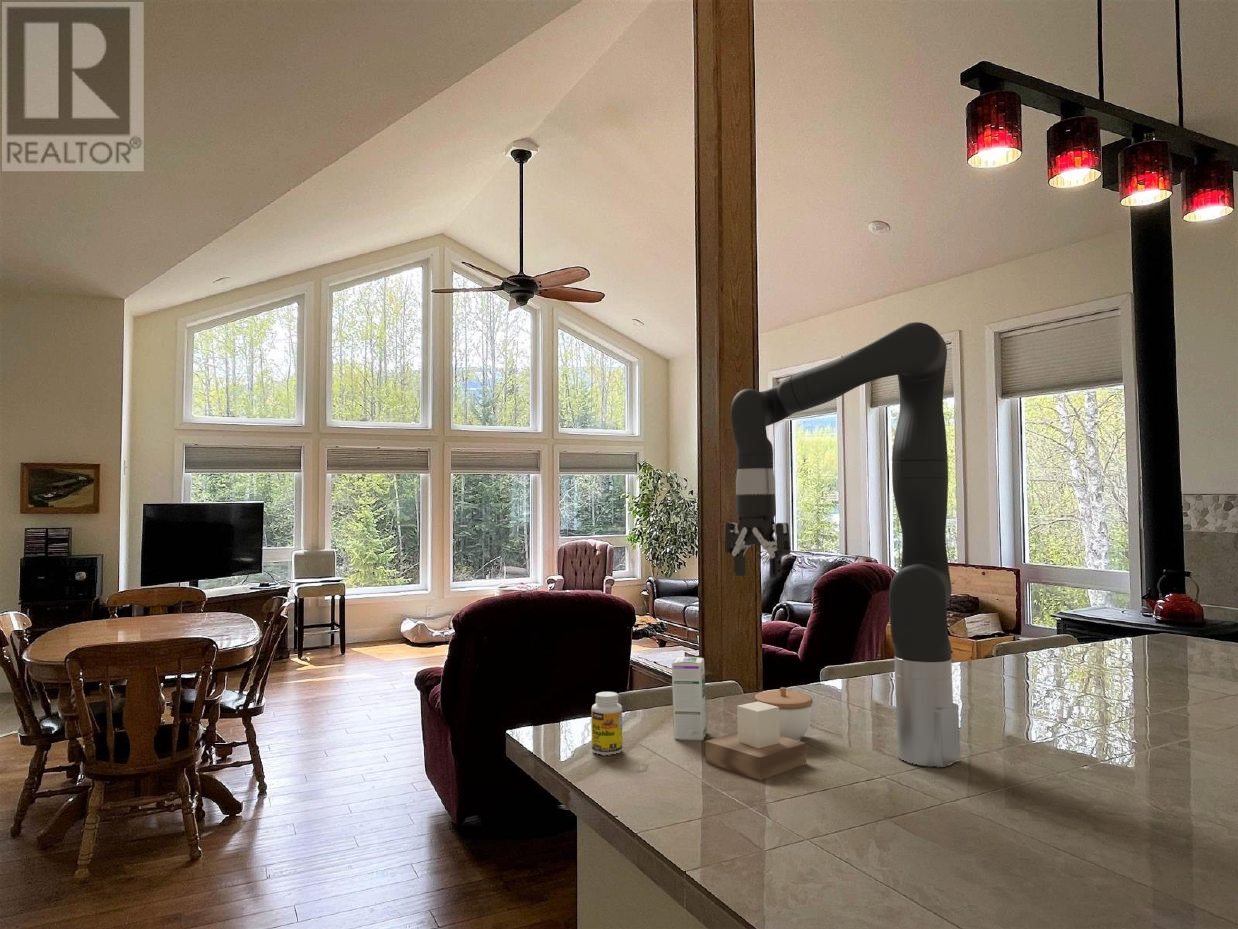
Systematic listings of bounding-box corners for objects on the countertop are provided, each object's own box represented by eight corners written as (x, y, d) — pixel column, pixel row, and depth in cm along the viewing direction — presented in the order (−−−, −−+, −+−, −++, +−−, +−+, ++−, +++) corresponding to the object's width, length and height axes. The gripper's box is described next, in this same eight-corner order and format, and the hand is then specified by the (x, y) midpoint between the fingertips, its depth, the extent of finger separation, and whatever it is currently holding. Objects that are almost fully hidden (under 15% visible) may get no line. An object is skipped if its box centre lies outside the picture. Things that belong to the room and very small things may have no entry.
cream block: (779, 743, 133) (778, 707, 134) (758, 748, 130) (757, 711, 131) (759, 736, 137) (758, 701, 138) (737, 741, 135) (736, 705, 135)
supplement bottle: (587, 755, 139) (586, 696, 140) (597, 746, 144) (597, 689, 145) (617, 758, 137) (616, 698, 138) (626, 748, 143) (625, 691, 143)
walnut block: (806, 766, 133) (806, 742, 133) (760, 783, 125) (760, 757, 126) (751, 750, 142) (751, 728, 143) (705, 765, 135) (705, 741, 135)
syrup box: (704, 741, 147) (702, 662, 148) (672, 739, 148) (671, 661, 149) (706, 732, 152) (705, 656, 153) (676, 731, 154) (675, 656, 154)
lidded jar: (814, 748, 142) (813, 695, 142) (754, 745, 144) (753, 693, 144) (812, 732, 152) (811, 682, 153) (756, 729, 154) (755, 681, 155)
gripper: (797, 492, 150) (799, 577, 149) (740, 493, 160) (742, 573, 159) (772, 491, 145) (774, 580, 144) (715, 493, 156) (716, 576, 155)
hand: (757, 576), depth 152 cm, fingers open, 8 cm apart
